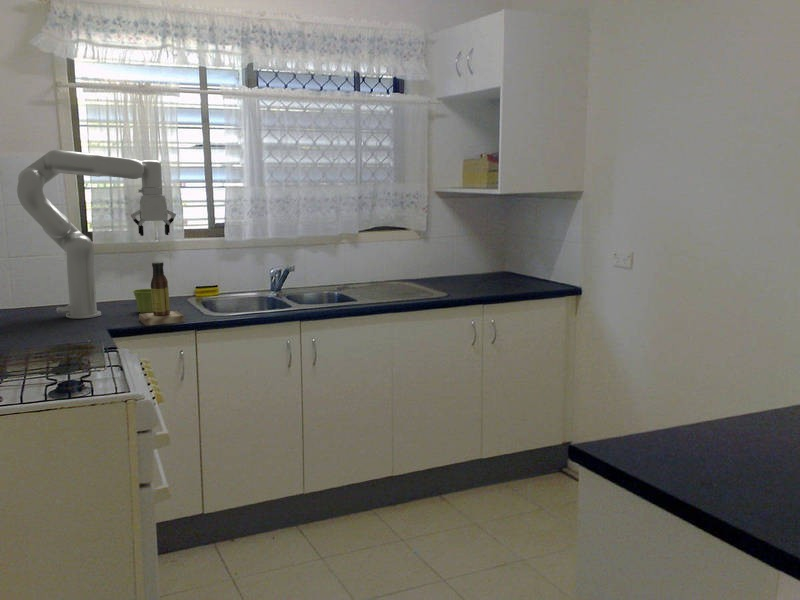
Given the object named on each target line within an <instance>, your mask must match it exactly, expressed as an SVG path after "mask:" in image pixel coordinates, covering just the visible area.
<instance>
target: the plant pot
mask: <svg viewBox="0 0 800 600" xmlns="http://www.w3.org/2000/svg"><path fill="white" fill-rule="evenodd" d="M132 293H133V296H134V298H135V302H136V307H137V308H136V309H137V312H138V313H139V312H140V313H139V314H145V313H153V309H152V296H151V288H141V289H140V288H139V289H134V290H132Z"/></svg>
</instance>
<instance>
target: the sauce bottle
mask: <svg viewBox="0 0 800 600" xmlns="http://www.w3.org/2000/svg"><path fill="white" fill-rule="evenodd" d="M151 266H152V278H151V280H150V281H151V282H150V289H151V296H152V309H153V312H152V313H153V314H154V315H157V316H163V315H168V314H170V311H171V310H170V309H171V305H170V293H169V285H168V283H169V282H168V279H167V277H166V275H165V272H164V261H153V262H152V263H151Z"/></svg>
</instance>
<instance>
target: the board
mask: <svg viewBox="0 0 800 600" xmlns="http://www.w3.org/2000/svg"><path fill="white" fill-rule="evenodd" d="M138 316H139V317H138V319H139V320H140V322H141V323H142V324H143V325H145V326H146V327H148V326H155V325H156V326H157V325H168V324H179V323H185V315H184V314H182V313H181V312H179V311H178V310H170V314H168V315H163V316H157V315H154V314H153V312H150V313H147V312H144V313H139V314H138Z"/></svg>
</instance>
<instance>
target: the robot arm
mask: <svg viewBox="0 0 800 600" xmlns="http://www.w3.org/2000/svg"><path fill="white" fill-rule="evenodd" d="M59 174H65V175H69V174H70V175H76V176H77V175H78V176H87V177H98V178H99V177H100V178H101V177H111V178H119V179H127V180H137V179H141V188H139V189H138V193H140V194H142V195H140V199H139V210H137V211H135V212H132V213H131V214H130V218H131V220H132V221H133V222H134V223H135V224H136V225H137V226H138V234H139V235H140V237H143V236H144V235H145V234H144V232H145V231H144V225H143V224H144V222H156V221H157V222H159V221H162V222H163V223H164V234H165V236H169V234H170V232H171V229H170V226H171V224H172V223H173V222H174V220H175V217H177V216H176V215H177V214H176V213H175V212H172V211H170V210H168V207H167V200H166V196H165V195H164V194H163V181H162V178H163V177H162V163H161V162H160V160H155V159H153V160H152V159H149V160H147V159H145V160H138V159H134V158H127V157H126V158H125V157H118V156H110V155H103V154H99V153H98V154H97V153H90V152H84V151H83V152H82V151H72V150H62V149H52V150H49V151H47V152H46V153H45V154H44V155H43V156H41V157H40V158H38V159H37V160H36V161H34V162H33V163H31V164H30V165H28V166H27V167H25V168H24V169H23V170H21V171H20V172H19V174H18V177H17V180H18V183H17V187H16V192H17V197H18V200H19V203H20V205H21V206H22V207H23V209H24V210H25V211H26V212H27V213H28V214H29V215H30V216H31V217H32V219H33V220H34V221H35V222H36V223H38V224H39V226H40V227H41V228H42V229H43V230H42V231H43V232H44V233H46V235H47V236H48V237H50V239H52V240H53V241H54V242H55V243H56V244H57V245H58V246H59V247H60V248H61V249H62V250H64V252H65V253H66V272H67V283H68V285H67V286H68V300H69V301H68V302H69V303H68V304H67V305H65V306H64V307H63V306H62V307H56V313H57V314H58V313H61V314H62V313H66V314H65V317H66V318H69V319H76V320H77V319H81V320H82V319H90V318H91V319H92V318H96V317H100V316H102V311H100V310H97V309H98V308H97V295H96V277H95V247H94V243H93V241H92V239H91V238H90V237H89V236H87V235H86V234H84V233H82V231H80V229H78V228H77V227H76V226H75V225H74V223H72V222H71V220H70V218H69V217H68V216H66V215H65V214H64V213H62V211H60V210H59V209H58V208H57V207H56V206H55V205H54V204H53V203H52V202H51V201H50V200H49V199H48V198H47V197H46V195H45V193H44V190H43V189H44V186H45V184H47V183H48V182H50V181H52V180H53V179H54V178H56V177H57V176H58V175H59ZM138 215H139V219H137V216H138ZM168 216H170V218H169V217H168ZM168 218H169V219H168Z"/></svg>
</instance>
